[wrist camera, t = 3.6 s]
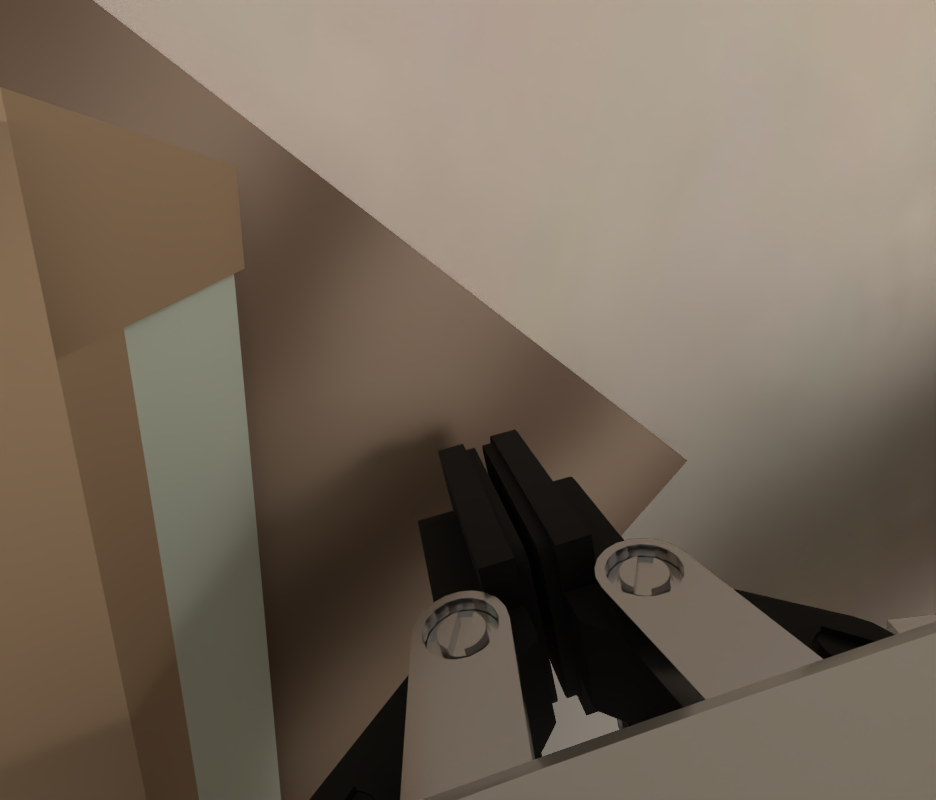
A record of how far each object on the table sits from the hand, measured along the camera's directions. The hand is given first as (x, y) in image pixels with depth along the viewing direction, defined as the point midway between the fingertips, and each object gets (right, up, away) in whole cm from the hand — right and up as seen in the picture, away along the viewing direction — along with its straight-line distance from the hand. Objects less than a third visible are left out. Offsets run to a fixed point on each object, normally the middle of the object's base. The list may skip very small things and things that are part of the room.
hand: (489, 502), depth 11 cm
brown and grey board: (-6, -2, +1) cm, 6 cm away
